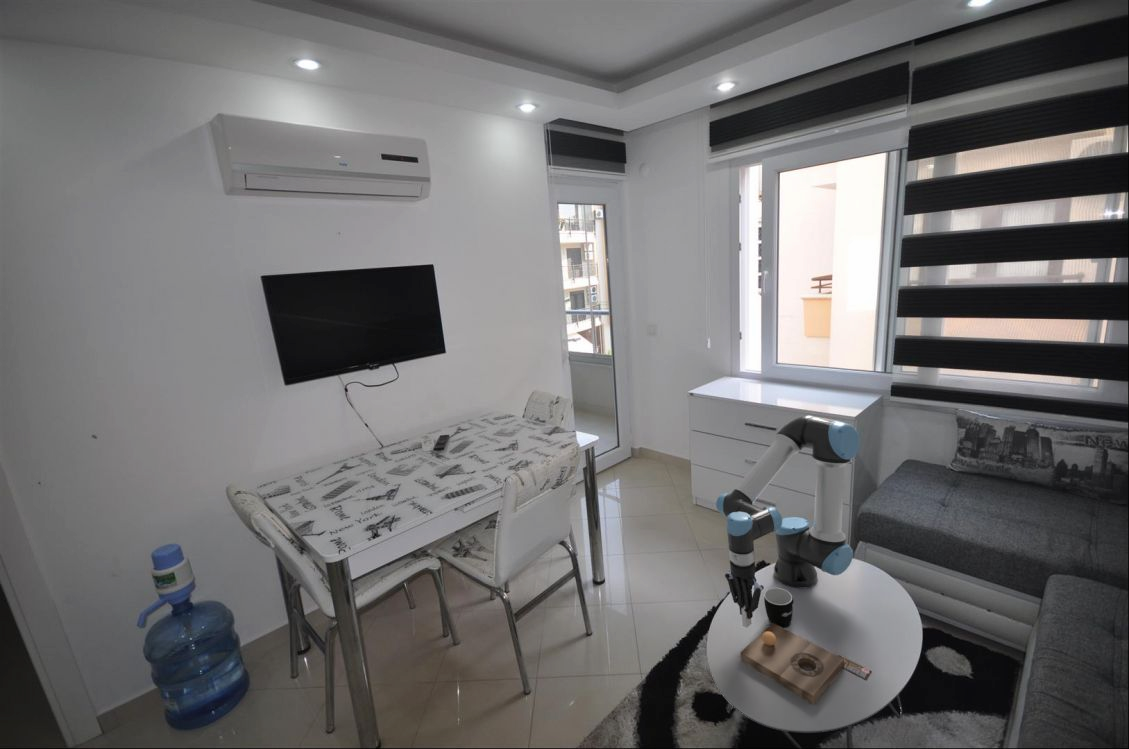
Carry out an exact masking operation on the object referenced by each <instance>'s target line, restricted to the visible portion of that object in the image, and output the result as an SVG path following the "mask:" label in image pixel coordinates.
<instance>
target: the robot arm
mask: <svg viewBox="0 0 1129 749" xmlns="http://www.w3.org/2000/svg"><path fill="white" fill-rule="evenodd" d="M860 447H861V441H860V435H859V432H858V430H857V429H856V428H855V427H854V426H853V425H851V424H850V423H847V422H843V421H841V420H836V419H832V418H831V419H830V418H826V417H821V416H816V415H813V414H812V415H808V414H807V415H803V416H799V417H797V418H794V419H793V420H791V421H789V422H788V423H787V424H784V426H783V427H781V428H780V429H779V430H778V432H776V434H775V435H774V441H773V442H772V444H771V445H770V446H769V447H768V448H767V449H766V451H765V452H764V453H763V454H762V456H761V457H760V458H759V459H758V460H757V462H755V464H754V465H753V467H752V468H751V469H750V470H749V471H748V473H747V474H746V475H745V476H744V477H743V478H742V480H741V481H740V482H739V483H738V484H737V486H736V487H734V489H733V491H732V492H731V493H727V492H723V493H722V494H720V495H719V496H718V497H717V499H716V502H715V508H716V510H717V511H718V512H719V513H720V514H722V516H725V517H726V534H727V541H728V543H727V545H728V552H729V553H728V554H729V565H730V566H729V567H730V570H729V571H728V572H727V571H726V573H725V574H724V577H725V579H726V581H727V584H728V586H729V590H730V594H731V597H732V600H733V603H734V604H737V605H738V607H739V615H741V619H742V620H741V621H742V627H744V628H745V629H748V628H749V627H750V626H751V625H752V618H753V614H754V612H755V611H756V610H757V609H758V608H759V604H760V598H761V593H762V591H763V590H764V588H765V587H764V585H762V584H759V583H758V582H757V578H756V576H755V575H756V562H755V559H756V558H755V547H754V541H756V540H758V539H760V538H762V537H764V536H766V535H770V534H771V533H774V532H775V537H776V548H777V549H776V550H777V558H776V561H775V563H774V566H773V568H774V569H773V573H774V574H773V575H774V578H775V579H776V580H777V582H779V583H780V584H782V585H784V586H787V587H789V588H796V589H807V588H810V587H812V586H814V585H815V584H816V583H817V582H818V572H817V569H816V568H818V569H819V570H821V572H823V573H827V574H829V575H831V576H839V575H841V574H843V573H844V572H845V571H846V570H847V569H848V568H849V566H850V565H851V563H852V560H853V559H854V558H853V557H854V551H853V549H852V547H851V546H850V545H849V544H846V540H847V536H846V534H845V533H844V532H843V531H842V524H843V523H842V522H843V520H842V519H843V510H844V509H843V506H844V505H843V504H844V503H843V502H844V488H845V487H844V486H845V473H846V472H845V470H846V465H848V464H849V463H851V460H852V459H854V458H855V457H856V456H857V454H858V451H859V450H860ZM805 448H807V449H811V450H812V453H811V454H812V459H813V460H814V461H815V462H816V474H815V495H814V515H813V526H812V527H810V526H811V525H810V523H809V521H808V520H807V519H805V518H803V517H797V516H793V517H792V516H791V517H790V516H789V517H784V518H783V517H782V514H781V512H780V511H779V510H778V509H777V508H776V507H774V506H771V505H769V506H763V508H762V507H759V506H756V505H755V504H754V503H755V501H756V500H757V499H758V498H759V497H760V495H761V494H762V493H763V492H764V491H765V489H766V488H767V487H768V486H769V484H770V483H771V482H772V481H773V480H774V478H775V477H776V476H777V475H778V474H779V472H780V471H781V470H782V469H783V467H784V466H785V465H786V463H788V461H789V460H790V459H792V458H791V457H792V456H793V455H797V454H799V453H800V452H801V450H802V449H805Z"/></svg>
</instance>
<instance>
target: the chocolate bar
mask: <svg viewBox="0 0 1129 749" xmlns="http://www.w3.org/2000/svg"><path fill="white" fill-rule="evenodd" d="M837 656H839V657H841V658H843V659H844V669H843V670H844V671H847V672H849V673H850V674H852V675H855V676H856V677H858V678H860V679H862V680H864V681H866V682H867V681H868V679H869V678H870V676H871V674H872V670H869V669H868V668H865V667H863V666H862V665H860V664H858V663H856V662H853V661H851V660H850V659H847V658H845V657H844V656H842V655H837Z"/></svg>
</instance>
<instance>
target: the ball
mask: <svg viewBox="0 0 1129 749" xmlns="http://www.w3.org/2000/svg"><path fill="white" fill-rule="evenodd" d="M762 638H763V641H764V643H765V644H767V645H769V646H772V645H774V644H775V643H776V637H775V635H774V634H773V633H772V632H769V631H767V632H765V633H764V634H763V636H762Z"/></svg>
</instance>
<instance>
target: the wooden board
mask: <svg viewBox="0 0 1129 749" xmlns="http://www.w3.org/2000/svg"><path fill="white" fill-rule="evenodd" d="M767 631H769V632H772V633H773V634H774V635H775V637H776V643H775V644H774V645H772V646H769V645H767V644H765V643H764V641H763V638H762V636H763V634H764V633H765V632H767ZM839 656H840V655H839ZM839 656H838V655H837V654H835V653H833V652H831V651H829V650H827V649H825V648H823V647H821V646H820V645H817V644H815V643H814V642H812V641H809V640H808V639H805V638H803V637H801V636H800V635H797V634H796V633H793V632H792V631H790V630H788V629H786V628H782V627H780V626H778V625H776V624H774V623H770V624H769V625H768V626H767V627H765V629H763V631H761V632H760V633H759V634H758V635H757V636H756V637H755V638H754V639H753V640H752V641H750V642H749V644H747V646H745V647H744V648H743V649H742V650H741V651H740V660H741V661H742V662H743V663H745V664H746V665H748V666H750V667H751V668H753V669H754V670H756V671H758V672H760V673H761V674H763V675H764V676H766V677H767V678H769V679H771V680H772V681H774V682H776V683H778V684H779V685H780V686H782V687H784V688H785V689H787V690H788V691H790V692H793V693H794V694H795V695H797V696H798V697H800V698H802V699H803V700H805V701H806V702H808V703H810V704H812V705H814V706H815V705H816V703H817V702H818V700H819V699H820V698H821V697H822V696H823V694H824V693H825V692H826V691H827V690H828V689H829V687H830V686H831V685H832V683H833V682H834V681H835V680H836V679H837V677H838V676H839V675H840V674H841V672H842V671H843V670H844V659H843V658H841V657H839ZM803 667H807V668H810V669H813V670H810V671H809V670H805V669H803Z"/></svg>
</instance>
